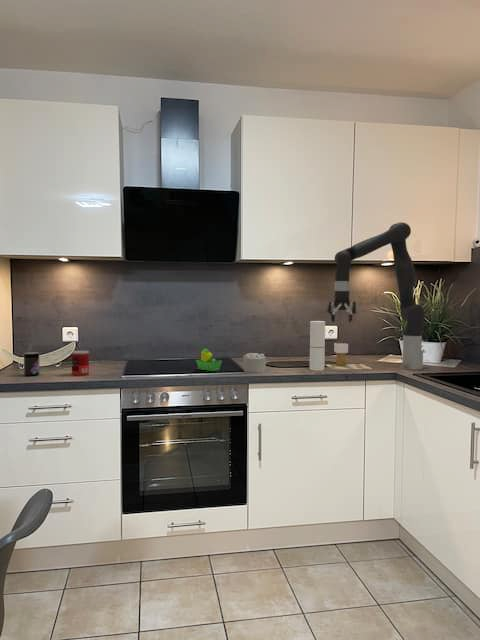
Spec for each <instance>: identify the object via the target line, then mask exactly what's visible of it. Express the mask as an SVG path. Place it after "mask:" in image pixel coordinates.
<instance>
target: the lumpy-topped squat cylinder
mask: <svg viewBox="0 0 480 640" xmlns="http://www.w3.org/2000/svg"><path fill="white" fill-rule="evenodd" d="M242 358H243V368H242V370H243V372H245V373H250V374H263V373H265V372H266V356H265V354H264V353H260V354H259V353H257V352H249V353H246V354H245V355H243V357H242Z"/></svg>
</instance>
